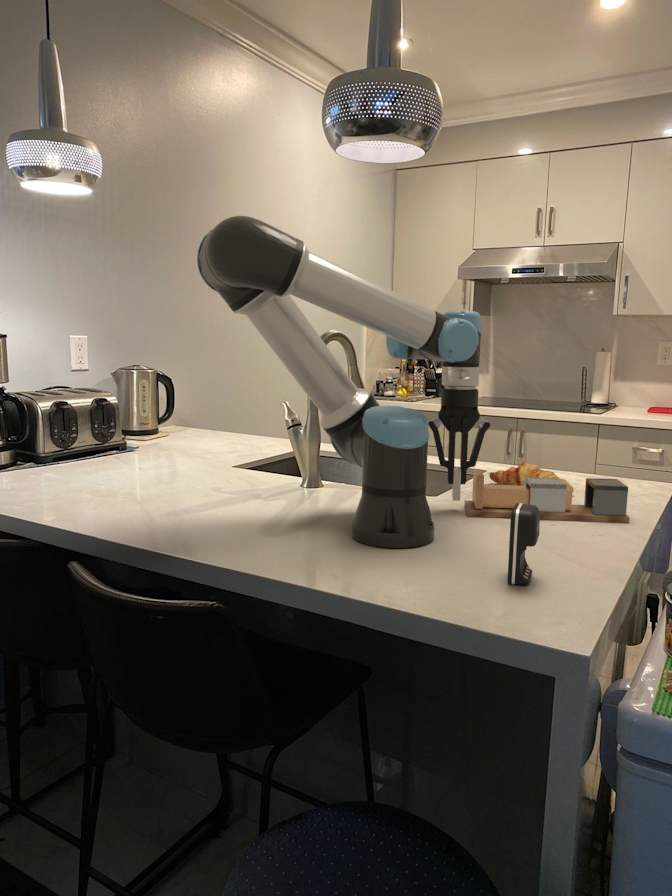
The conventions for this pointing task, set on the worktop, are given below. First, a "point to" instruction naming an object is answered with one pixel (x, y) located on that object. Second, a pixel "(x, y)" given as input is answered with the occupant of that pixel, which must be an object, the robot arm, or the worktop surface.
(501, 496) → the wood grain post
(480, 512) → the board
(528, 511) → the battery charger
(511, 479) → the croissant
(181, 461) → the worktop surface
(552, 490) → the grey concrete cube
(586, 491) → the grey box
